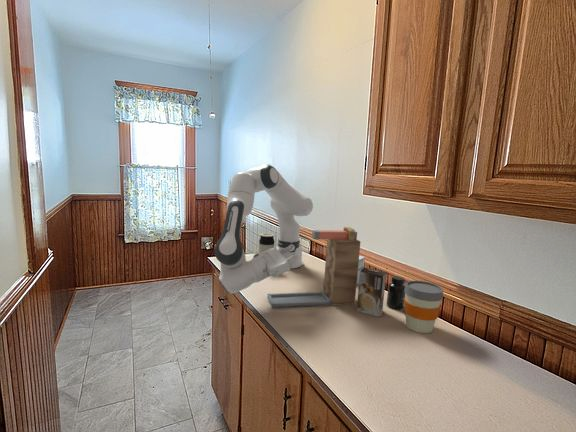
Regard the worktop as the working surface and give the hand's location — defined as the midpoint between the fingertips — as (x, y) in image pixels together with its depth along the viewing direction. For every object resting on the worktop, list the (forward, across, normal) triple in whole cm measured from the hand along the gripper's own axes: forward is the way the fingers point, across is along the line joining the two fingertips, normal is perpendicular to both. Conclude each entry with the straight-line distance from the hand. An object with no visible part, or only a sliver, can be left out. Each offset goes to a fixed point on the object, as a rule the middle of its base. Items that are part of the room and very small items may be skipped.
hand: (293, 252), depth 128 cm
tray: (-6, 0, +20) cm, 21 cm away
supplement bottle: (+28, -11, +36) cm, 47 cm away
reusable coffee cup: (+27, -28, +36) cm, 53 cm away
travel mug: (-10, +44, +19) cm, 49 cm away
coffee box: (+17, -13, +31) cm, 37 cm away
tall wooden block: (+10, -1, +28) cm, 29 cm away
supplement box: (+25, +18, +35) cm, 47 cm away
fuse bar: (+18, 0, +2) cm, 18 cm away
